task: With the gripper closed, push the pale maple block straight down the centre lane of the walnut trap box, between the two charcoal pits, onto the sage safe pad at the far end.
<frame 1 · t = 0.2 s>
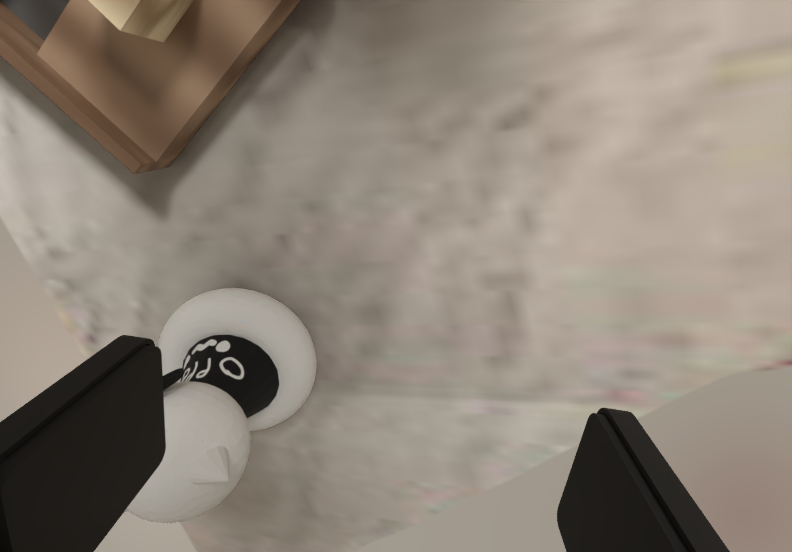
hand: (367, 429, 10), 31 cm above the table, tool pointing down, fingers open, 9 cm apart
decorative figurine: (248, 348, 45), on the table
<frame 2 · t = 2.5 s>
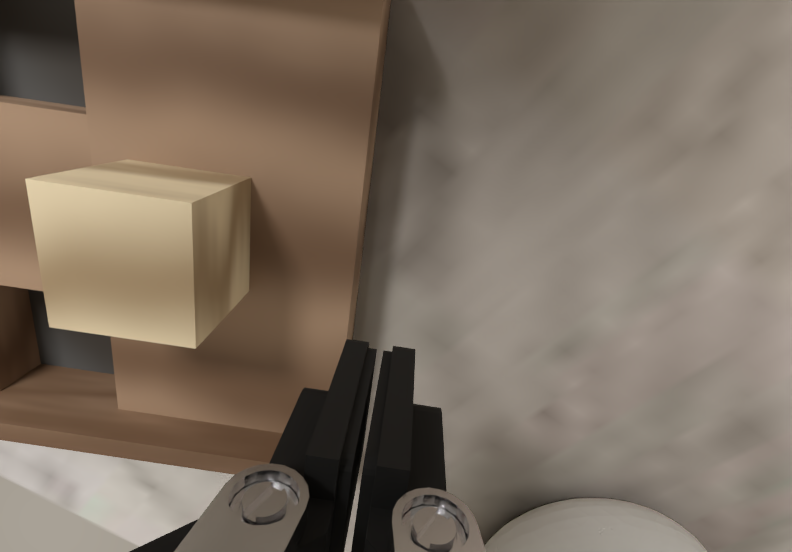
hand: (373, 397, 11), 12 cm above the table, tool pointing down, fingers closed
trap box: (77, 191, 22), on the table
maple block: (191, 228, 19), point 3 cm above the table, touching trap box
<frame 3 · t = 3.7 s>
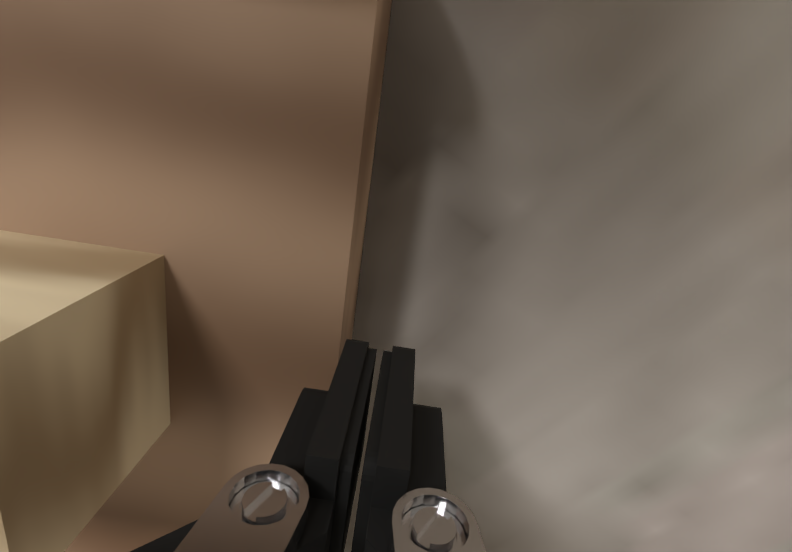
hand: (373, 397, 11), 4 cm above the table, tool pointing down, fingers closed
maple block: (73, 330, 12), point 3 cm above the table, touching trap box
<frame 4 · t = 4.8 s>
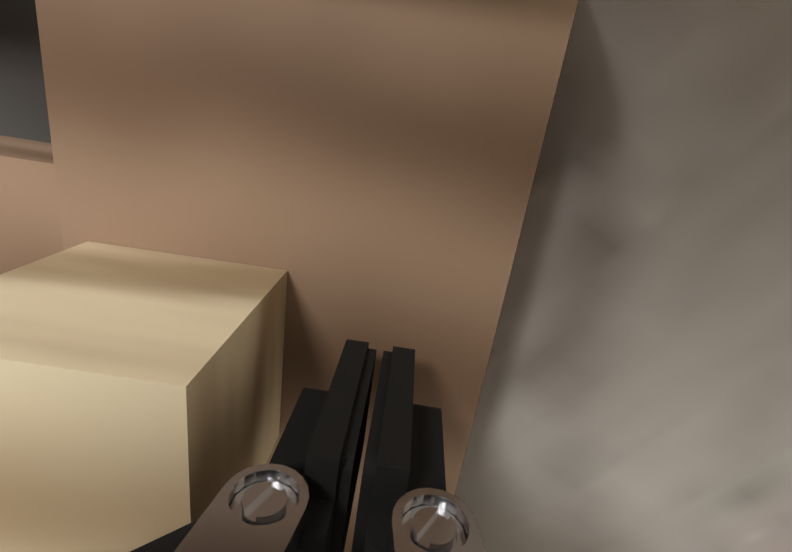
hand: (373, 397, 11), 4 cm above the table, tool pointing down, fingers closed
trap box: (48, 264, 15), on the table
maple block: (190, 344, 12), point 3 cm above the table, touching gripper
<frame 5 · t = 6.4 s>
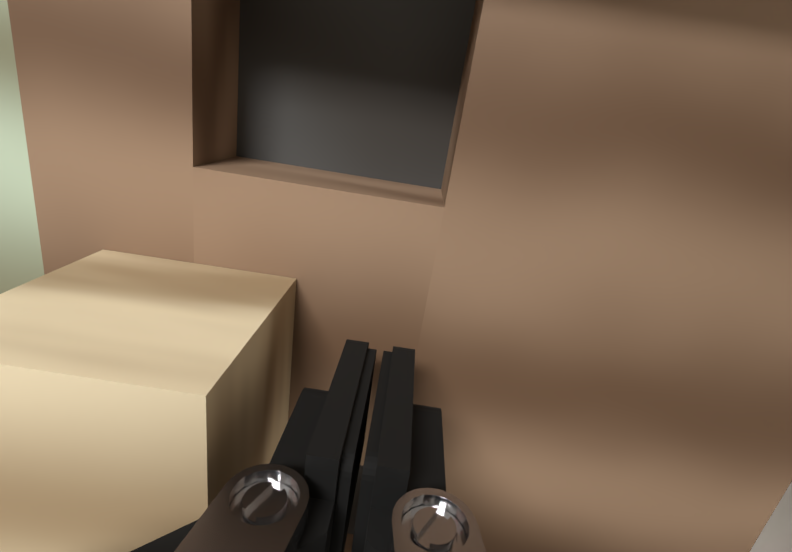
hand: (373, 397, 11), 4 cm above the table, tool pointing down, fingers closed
trap box: (328, 293, 15), on the table
maple block: (201, 349, 12), point 3 cm above the table, touching gripper
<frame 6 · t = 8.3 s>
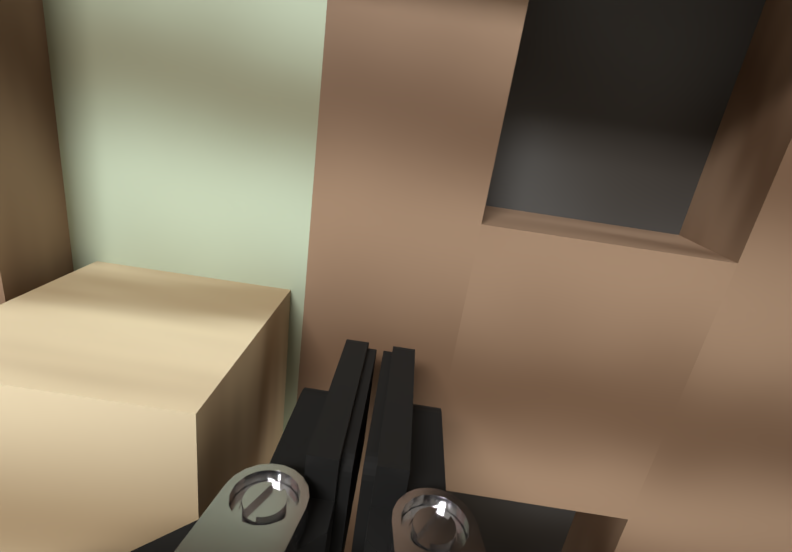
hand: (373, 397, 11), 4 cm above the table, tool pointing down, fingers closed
trap box: (536, 335, 15), on the table
maple block: (195, 360, 12), point 3 cm above the table, touching gripper, trap box
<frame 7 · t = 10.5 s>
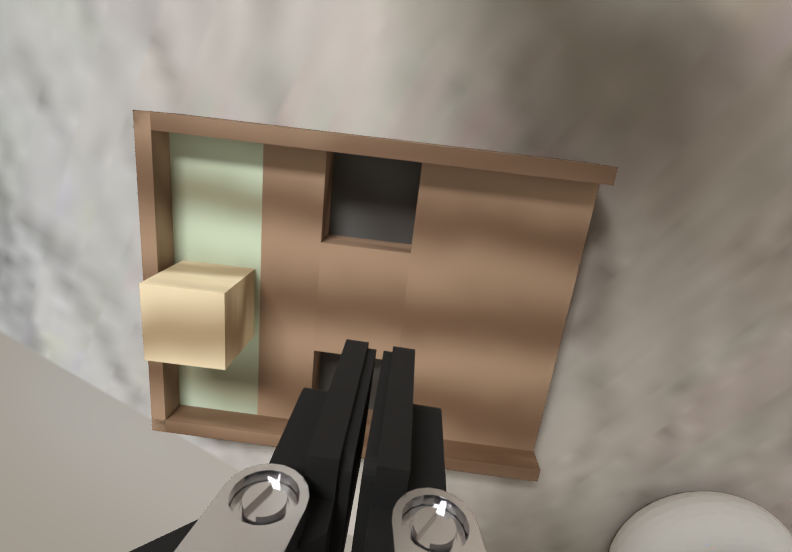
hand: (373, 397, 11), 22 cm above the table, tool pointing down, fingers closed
decorative figurine: (683, 544, 40), on the table
trap box: (365, 289, 34), on the table
maple block: (219, 298, 32), point 3 cm above the table, touching trap box
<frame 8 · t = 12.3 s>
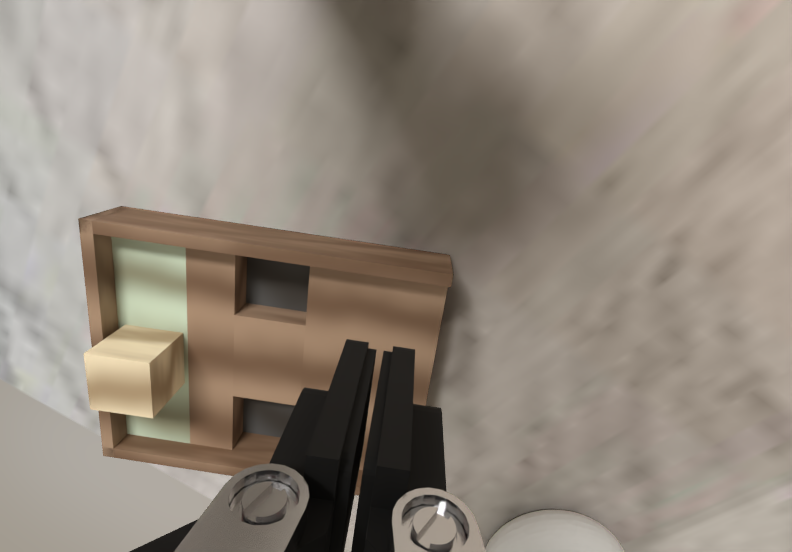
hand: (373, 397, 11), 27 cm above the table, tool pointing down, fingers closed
decorative figurine: (546, 550, 48), on the table
trap box: (278, 345, 42), on the table
maple block: (155, 354, 39), point 3 cm above the table, touching trap box
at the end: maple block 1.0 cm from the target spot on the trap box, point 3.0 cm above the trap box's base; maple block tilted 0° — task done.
